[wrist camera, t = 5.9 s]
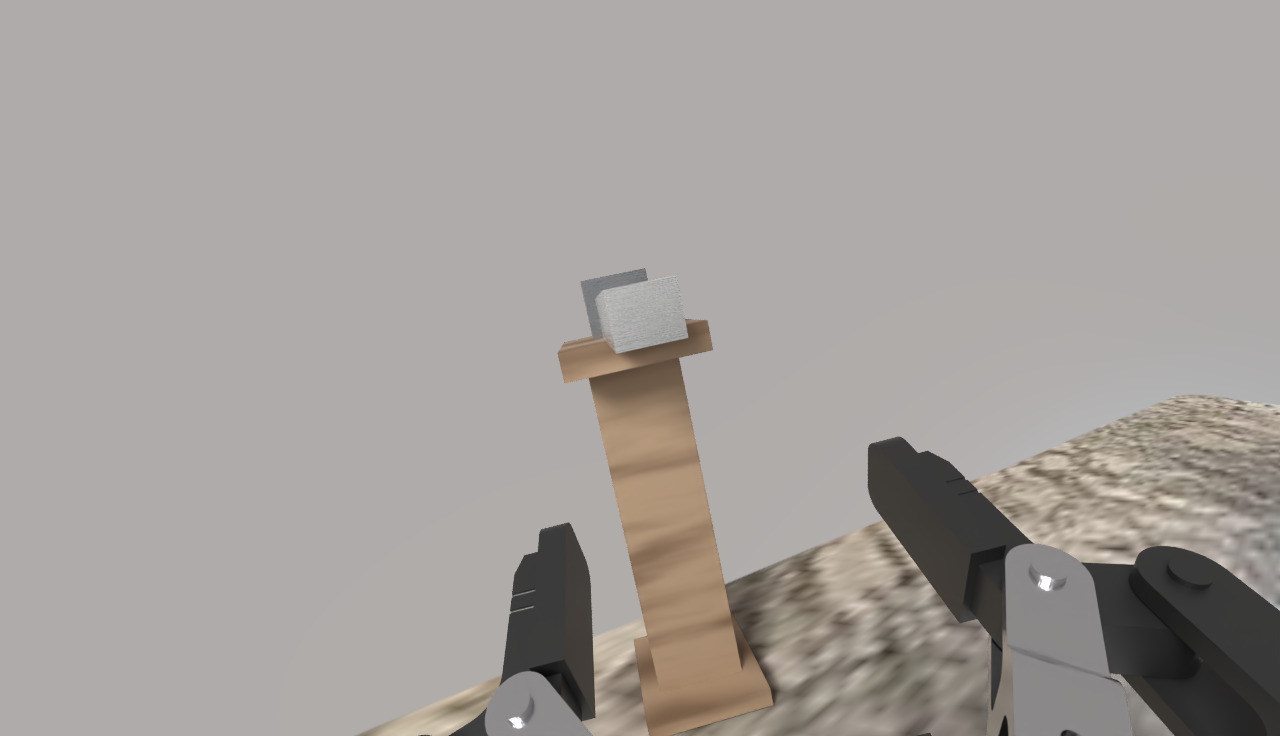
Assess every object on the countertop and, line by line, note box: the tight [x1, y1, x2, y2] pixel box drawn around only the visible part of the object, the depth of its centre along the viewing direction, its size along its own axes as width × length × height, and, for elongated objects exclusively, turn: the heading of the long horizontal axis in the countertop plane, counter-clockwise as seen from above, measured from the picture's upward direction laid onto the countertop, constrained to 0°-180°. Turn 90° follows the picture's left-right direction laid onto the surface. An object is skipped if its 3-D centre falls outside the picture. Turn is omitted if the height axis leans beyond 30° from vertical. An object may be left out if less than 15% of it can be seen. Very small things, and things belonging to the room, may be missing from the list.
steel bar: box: [581, 268, 689, 354], centre depth 33 cm, size 20×5×4 cm, turn 8°
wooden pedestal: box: [558, 319, 773, 736], centre depth 40 cm, size 12×10×31 cm
